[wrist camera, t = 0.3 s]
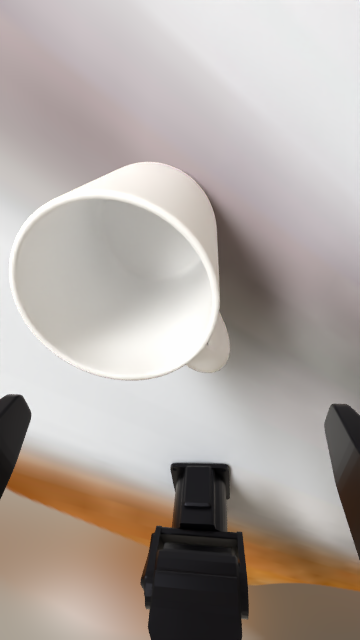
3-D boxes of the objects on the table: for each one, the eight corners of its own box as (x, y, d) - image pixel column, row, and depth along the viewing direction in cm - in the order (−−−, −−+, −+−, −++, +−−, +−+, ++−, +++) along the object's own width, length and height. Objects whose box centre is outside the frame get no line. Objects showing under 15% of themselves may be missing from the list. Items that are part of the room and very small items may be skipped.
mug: (269, 281, 22) (306, 383, 13) (179, 335, 25) (162, 445, 16) (161, 126, 17) (111, 127, 9) (69, 216, 21) (-34, 282, 12)
